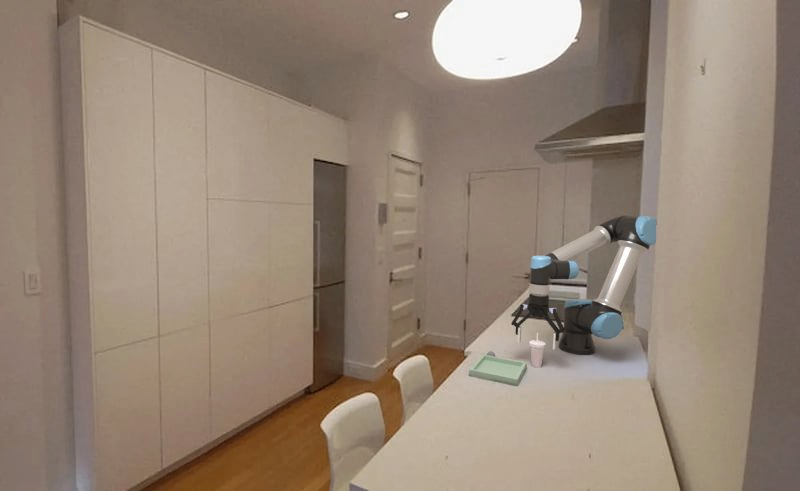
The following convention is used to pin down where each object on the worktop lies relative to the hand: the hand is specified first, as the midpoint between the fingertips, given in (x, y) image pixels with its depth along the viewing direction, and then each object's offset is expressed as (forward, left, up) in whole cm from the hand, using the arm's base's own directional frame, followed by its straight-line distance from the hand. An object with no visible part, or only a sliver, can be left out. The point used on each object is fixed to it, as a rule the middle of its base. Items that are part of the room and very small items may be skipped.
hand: (536, 345), depth 157 cm
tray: (+12, +14, -8) cm, 20 cm away
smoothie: (0, 0, -9) cm, 9 cm away
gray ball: (+18, +3, -8) cm, 20 cm away
